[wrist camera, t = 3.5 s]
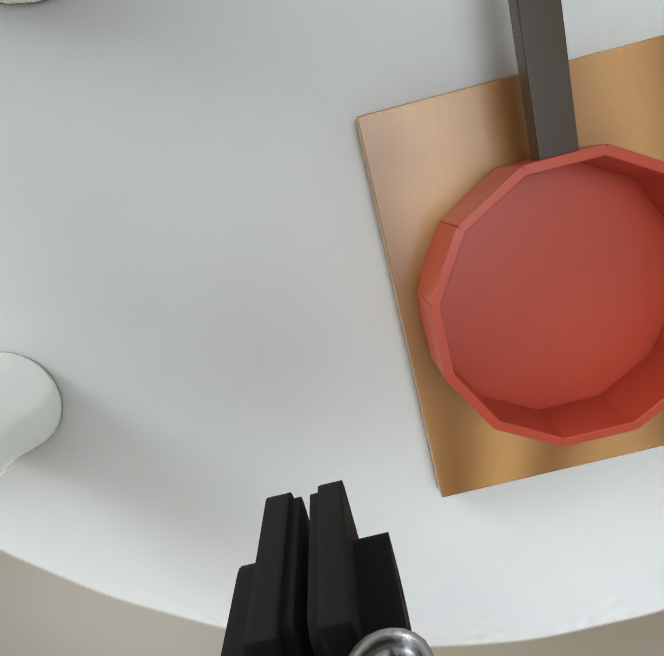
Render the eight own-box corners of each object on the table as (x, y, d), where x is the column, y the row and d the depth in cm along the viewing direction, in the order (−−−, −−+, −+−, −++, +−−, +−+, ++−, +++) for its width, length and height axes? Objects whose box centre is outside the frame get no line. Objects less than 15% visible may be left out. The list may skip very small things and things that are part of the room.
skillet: (445, 435, 31) (464, 471, 27) (354, 6, 25) (360, -25, 21) (686, 377, 30) (740, 405, 27) (652, -75, 24) (714, -123, 21)
